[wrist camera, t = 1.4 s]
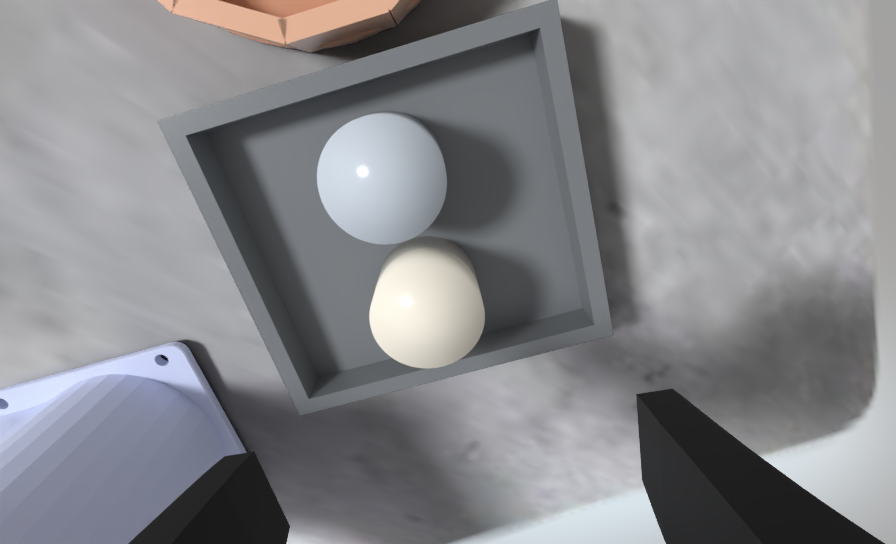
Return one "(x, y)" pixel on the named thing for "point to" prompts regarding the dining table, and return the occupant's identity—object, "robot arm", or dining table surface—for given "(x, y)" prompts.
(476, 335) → the cream pebble
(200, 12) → the terracotta bowl
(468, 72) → the parts tray
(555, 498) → the dining table surface
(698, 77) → the dining table surface
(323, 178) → the slate pebble
